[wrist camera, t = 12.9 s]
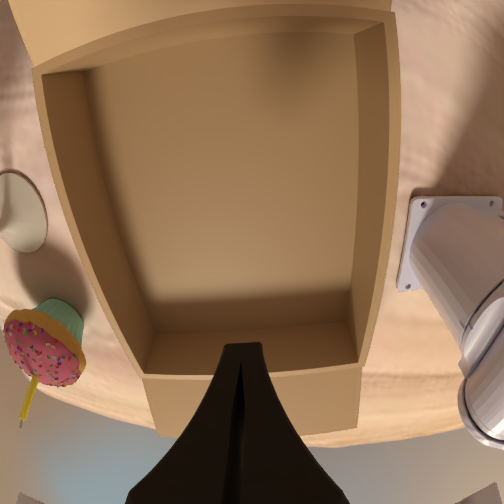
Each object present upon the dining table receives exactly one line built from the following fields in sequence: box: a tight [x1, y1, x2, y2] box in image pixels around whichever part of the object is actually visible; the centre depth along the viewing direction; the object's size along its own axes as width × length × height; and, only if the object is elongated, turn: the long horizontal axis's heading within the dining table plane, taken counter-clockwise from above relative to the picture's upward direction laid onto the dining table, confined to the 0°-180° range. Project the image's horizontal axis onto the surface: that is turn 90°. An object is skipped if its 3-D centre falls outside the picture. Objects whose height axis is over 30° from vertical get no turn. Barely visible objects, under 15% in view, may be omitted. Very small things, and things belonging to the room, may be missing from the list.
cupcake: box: [3, 299, 86, 428], centre depth 20 cm, size 9×8×12 cm
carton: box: [32, 4, 401, 380], centre depth 17 cm, size 17×22×5 cm
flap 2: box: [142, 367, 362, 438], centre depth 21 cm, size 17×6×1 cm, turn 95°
